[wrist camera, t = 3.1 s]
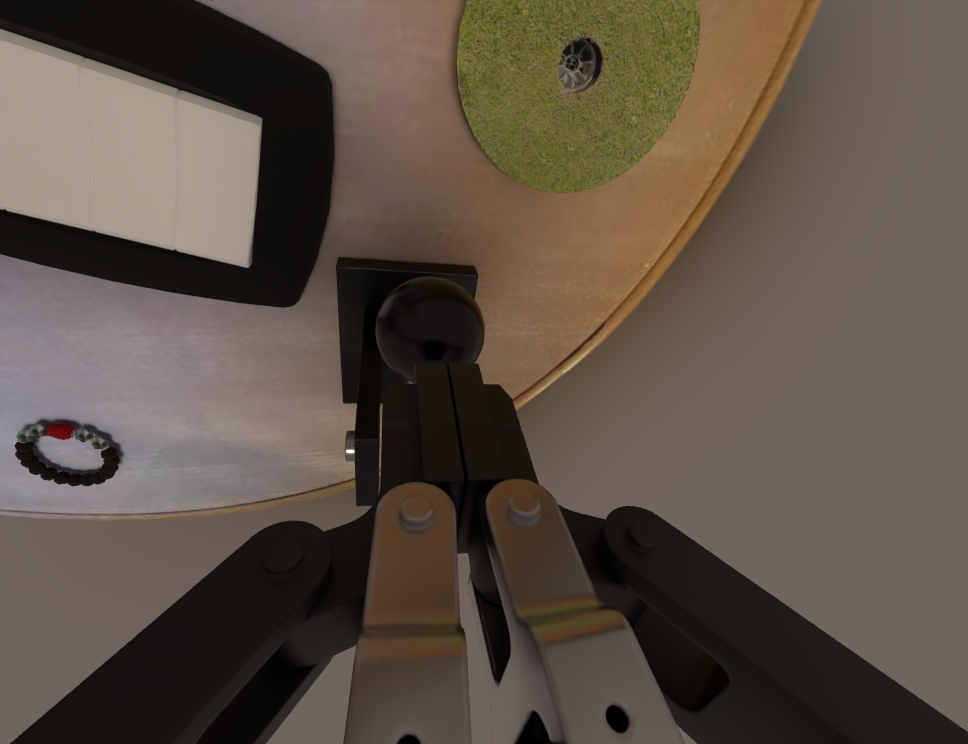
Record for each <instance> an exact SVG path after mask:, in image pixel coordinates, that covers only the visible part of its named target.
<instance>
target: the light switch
mask: <svg viewBox="0 0 968 744" xmlns="http://www.w3.org/2000/svg"><path fill="white" fill-rule="evenodd" d="M333 161H334V137H333V105H332V84H331V81H330V78H329V75H328V73H327V72H326V71H325V70H324V69H323V68H322V67H321V66H320V65H319V64H317V63H316V62H314V61H312V60H310V59H308V58H306V57H305V56H303V55H301V54H299V53H297V52H295V51H294V50H292V49H290V48H288V47H286V46H284V45H283V44H281V43H279V42H277V41H275V40H273V39H272V38H270V37H268V36H266V35H264V34H262V33H261V32H259V31H257V30H255V29H253V28H251V27H249V26H247V25H245V24H243V23H241V22H239V21H236V20H234V19H232V18H230V17H228V16H226V15H224V14H222V13H220V12H218V11H216V10H214V9H212V8H209V7H207V6H205V5H203V4H201V3H199V2H197V1H195V0H0V254H2V255H6V256H10V257H14V258H17V259H21V260H25V261H29V262H33V263H36V264H40V265H44V266H49V267H53V268H57V269H62V270H66V271H70V272H75V273H79V274H83V275H88V276H92V277H97V278H101V279H105V280H110V281H115V282H120V283H125V284H130V285H136V286H141V287H146V288H151V289H157V290H162V291H167V292H172V293H179V294H185V295H192V296H198V297H204V298H211V299H217V300H224V301H230V302H237V303H245V304H254V305H264V306H273V307H282V308H284V307H291V306H294V305H295V304H296V303H297V302H298V301H299V300H300V298H301V295H302V293H303V291H304V288H305V286H306V283H307V281H308V279H309V276H310V274H311V272H312V269H313V267H314V264H315V262H316V259H317V256H318V252H319V248H320V244H321V240H322V236H323V232H324V229H325V225H326V221H327V217H328V213H329V205H330V194H331V183H332V172H333Z"/></svg>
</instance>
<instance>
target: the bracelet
mask: <svg viewBox="0 0 968 744" xmlns="http://www.w3.org/2000/svg"><path fill="white" fill-rule="evenodd" d="M58 428H59V429H58ZM77 429H78V428H77ZM65 432H66V433H65ZM59 433H60V434H59ZM47 435H49V436H52V437H54V438H57V439H63V440H65V439H69V438H73V437H74V436H75V435H76V439H78V440H80V441H81V442H85V441H88V440H90V441H92V446H93V447H94V449H101V450H102V452H101V457H102V458H104V460H103V461H104V464H103V465H102V469H101V470H100V472H96V473H94V474H90V473H87V474H85V475H80V474H76V473H75V474H72V475H70V474H69V473H68V472H64V471H62V472H57V470H56V468H53V467H49V468H47V467H46V465H45V464H44V463H43V462H39V459H38V457H37V456H36V455H34V451H33V449H32V448H33V446H34V443H33V442H32V440H33V438H34V437H36V438H40V437H43V436H47ZM17 438H18V440H17V441H18V442H17V443H16V444H15V448H16V450H17V452H16V453H15V455H16V457H17V458H18V459H19V460H21V465H22V466H24V467H26V468H29V472H30V473H32V474H34V475H38V474H41V478H42V479H44V480H52V479H54V482H56V483H57V484H66V483H68V484H69V485H71V486H78V485H80V484H82V485H84V486H90V485H93V483H95V484H101V483H104V482H105V480H106V479H110V478H112V477H113V476H114V474H115V472H116V471H117V469H118V463H119V462H120V459H119V456H118V455H116V454H117V450H116V449H115V448H113V447H110V446H109V445H108V440H107V439H106V437H102V436H97V435H94V436H93V433H92V432H91V431H90V430H89V429H88V428H87V429H81V430H79V431H78V432H77V430H76V428H74V427H72V426H70V425H68V424H64V423H62V424H59V423H58V424H51V425H50V426H49V427H48V426H45V425H43V424H41V423H38V424H36V425H34V426H32V427H30V428H29V429H23V430H21V431H19V432H18V434H17Z"/></svg>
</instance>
